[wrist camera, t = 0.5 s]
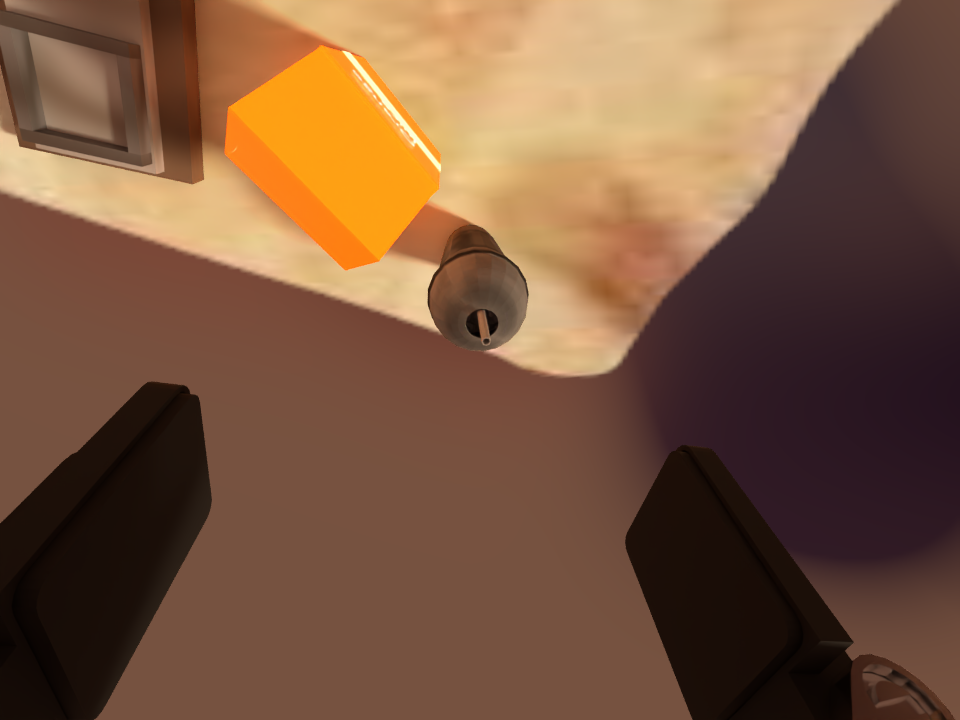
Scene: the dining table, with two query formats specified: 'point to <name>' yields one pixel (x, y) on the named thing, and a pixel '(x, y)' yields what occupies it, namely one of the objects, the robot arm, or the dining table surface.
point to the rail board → (106, 82)
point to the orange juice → (335, 154)
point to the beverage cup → (477, 292)
